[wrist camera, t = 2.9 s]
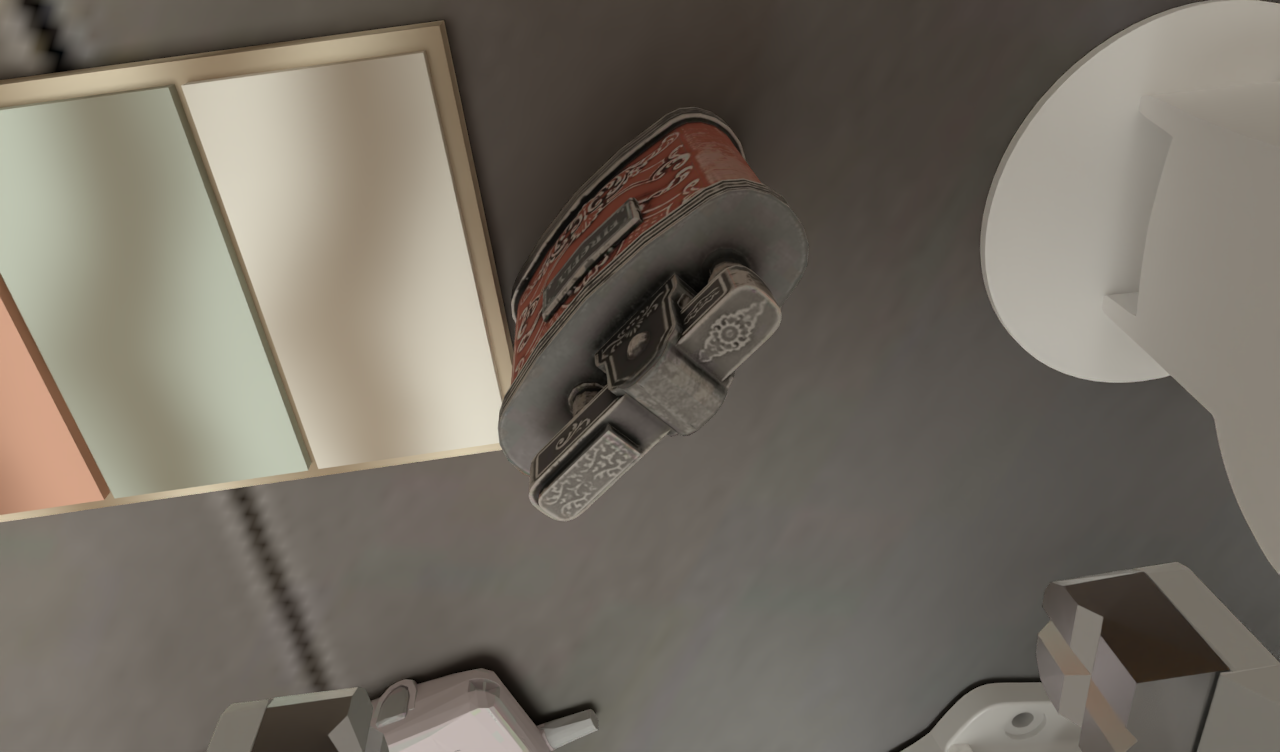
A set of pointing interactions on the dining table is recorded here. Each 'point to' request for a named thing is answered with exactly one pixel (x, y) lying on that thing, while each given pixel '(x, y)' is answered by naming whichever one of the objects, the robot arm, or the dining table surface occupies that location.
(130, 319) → the game board
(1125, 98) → the panda figurine
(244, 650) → the dining table surface
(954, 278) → the dining table surface
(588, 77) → the dining table surface
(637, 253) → the lighter
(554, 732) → the mobile phone
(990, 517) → the dining table surface
